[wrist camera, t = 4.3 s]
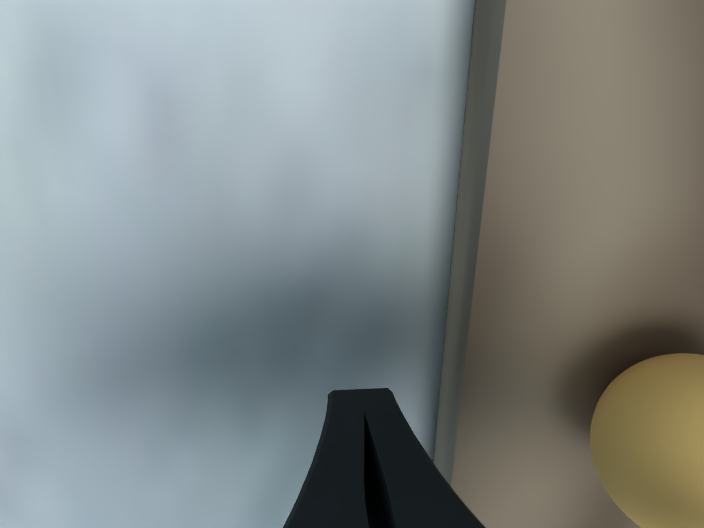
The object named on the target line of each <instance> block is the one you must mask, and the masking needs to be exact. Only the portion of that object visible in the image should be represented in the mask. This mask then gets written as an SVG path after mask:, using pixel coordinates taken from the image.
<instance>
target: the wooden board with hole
mask: <svg viewBox="0 0 704 528" xmlns="http://www.w3.org/2000/svg"><path fill="white" fill-rule="evenodd" d="M676 353H690V354H700V355H704V0H476V1H475V12H474V22H473V33H472V44H471V55H470V66H469V77H468V88H467V99H466V110H465V121H464V132H463V143H462V154H461V165H460V176H459V186H458V197H457V208H456V219H455V230H454V241H453V252H452V263H451V274H450V285H449V296H448V307H447V318H446V329H445V340H444V350H443V361H442V372H441V383H440V394H439V405H438V416H437V427H436V438H435V449H434V460H433V463H434V465H435V466H436V467H437V469H438V470H439V472H440V473H441V474H442V476H443V477H444V478H445V480H446V481H447V482H448V483H449V485H450V486H451V487H452V489H453V490H454V491H455V493H456V494H457V495H458V496H459V498H460V499H461V500H462V501H463V502H464V504H465V505H466V506H467V507H468V508H469V510H470V511H471V512H472V513H473V514H474V515H475V516H476V517H477V519H478V520H479V521H480V522H481V523H482V524H483V525H484V526H485V527H486V528H641V527H640V526H638V525H637V524H636V523H634V522H633V521H632V520H631V519H630V518H629V517H628V516H627V515H626V514H625V513H624V512H623V511H622V510H621V509H620V508H619V507H618V506H617V505H616V504H615V502H614V501H613V500H612V498H611V497H610V495H609V494H608V492H607V491H606V489H605V488H604V486H603V484H602V482H601V480H600V478H599V476H598V473H597V471H596V468H595V465H594V461H593V458H592V452H591V444H590V431H591V422H592V418H593V414H594V411H595V408H596V405H597V403H598V401H599V399H600V397H601V396H602V394H603V393H604V391H605V390H606V388H607V387H608V386H609V384H610V383H611V382H612V381H613V380H614V379H615V378H616V377H617V376H618V375H620V374H621V373H622V372H624V371H625V370H626V369H628V368H630V367H631V366H633V365H635V364H637V363H639V362H641V361H644V360H646V359H649V358H653V357H656V356H661V355H667V354H676Z"/></svg>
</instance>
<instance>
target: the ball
mask: <svg viewBox="0 0 704 528" xmlns="http://www.w3.org/2000/svg"><path fill="white" fill-rule="evenodd" d="M590 444H591V452H592V458H593V461H594V465H595V468H596V471H597V473H598V476H599V478H600V480H601V482H602V484H603V486H604V488H605V489H606V491H607V492H608V494H609V495H610V497H611V498H612V500H613V501H614V502H615V504H616V505H617V506H618V507H619V508H620V509H621V510H622V511H623V512H624V513H625V514H626V515H627V516H628V517H629V518H630V519H631V520H632V521H633V522H634V523H636V524H637V525H638V526H640V527H641V528H704V355H700V354H690V353H676V354H667V355H661V356H656V357H653V358H649V359H646V360H644V361H641V362H639V363H637V364H635V365H633V366H631V367H630V368H628V369H626V370H625V371H624V372H622V373H621V374H620V375H618V376H617V377H616V378H615V379H614V380H613V381H612V382H611V383H610V384H609V386H608V387H607V388H606V390H605V391H604V393H603V394H602V396H601V397H600V399H599V401H598V403H597V405H596V408H595V411H594V414H593V418H592V422H591V431H590Z"/></svg>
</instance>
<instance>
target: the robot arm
mask: <svg viewBox="0 0 704 528" xmlns="http://www.w3.org/2000/svg"><path fill="white" fill-rule="evenodd" d="M283 528H486V527H485V526H484V525H483V524H482V523H481V522H480V521H479V520H478V519H477V517H476V516H475V515H474V514H473V513H472V512H471V511H470V510H469V508H468V507H467V506H466V505H465V504H464V502H463V501H462V500H461V499H460V498H459V496H458V495H457V494H456V493H455V491H454V490H453V489H452V487H451V486H450V485H449V483H448V482H447V481H446V480H445V478H444V477H443V476H442V474H441V473H440V472H439V470H438V469H437V467H436V466H435V465H434V463H433V462H432V460H431V459H430V457H429V456H428V454H427V453H426V451H425V450H424V448H423V447H422V445H421V444H420V442H419V441H418V439H417V438H416V436H415V434H414V433H413V431H412V429H411V428H410V426H409V424H408V423H407V421H406V419H405V417H404V415H403V414H402V412H401V410H400V408H399V406H398V404H397V402H396V400H395V398H394V395H393V393H392V392H391V391H390V390H389V389H388V388H378V389H355V390H333V391H332V392H331V393H329V394H328V404H327V412H326V417H325V421H324V425H323V429H322V433H321V437H320V440H319V443H318V446H317V449H316V452H315V455H314V458H313V461H312V464H311V466H310V469H309V471H308V474H307V476H306V479H305V481H304V484H303V486H302V488H301V491H300V493H299V496H298V498H297V500H296V502H295V504H294V506H293V509H292V511H291V513H290V515H289V517H288V519H287V521H286V523H285V525H284V527H283Z"/></svg>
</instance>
